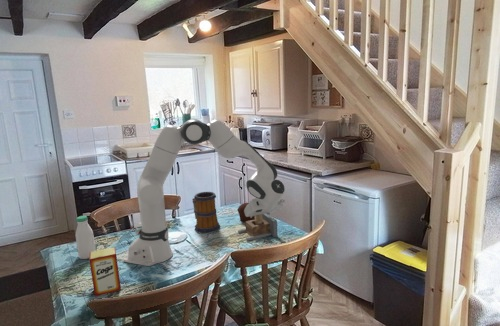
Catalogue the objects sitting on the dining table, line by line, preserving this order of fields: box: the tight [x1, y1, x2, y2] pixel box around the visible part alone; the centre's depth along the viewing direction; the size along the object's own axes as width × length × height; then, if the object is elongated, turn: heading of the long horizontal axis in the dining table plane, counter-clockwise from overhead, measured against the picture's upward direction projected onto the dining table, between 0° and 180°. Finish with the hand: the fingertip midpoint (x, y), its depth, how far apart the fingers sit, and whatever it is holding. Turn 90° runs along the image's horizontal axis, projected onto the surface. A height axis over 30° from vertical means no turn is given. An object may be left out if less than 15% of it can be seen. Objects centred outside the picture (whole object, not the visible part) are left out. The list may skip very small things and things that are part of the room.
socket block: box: [245, 218, 270, 237], centre depth 182 cm, size 10×9×6 cm
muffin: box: [236, 202, 255, 223], centre depth 201 cm, size 12×11×10 cm
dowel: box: [255, 214, 262, 225], centre depth 181 cm, size 4×4×10 cm
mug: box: [192, 191, 221, 235], centre depth 192 cm, size 19×14×20 cm
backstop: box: [237, 213, 278, 241], centre depth 181 cm, size 16×18×9 cm
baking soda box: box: [88, 246, 122, 297], centre depth 135 cm, size 10×6×16 cm
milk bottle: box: [75, 215, 97, 260], centre depth 163 cm, size 8×8×20 cm
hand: (259, 214), depth 180 cm, fingers open, 8 cm apart
